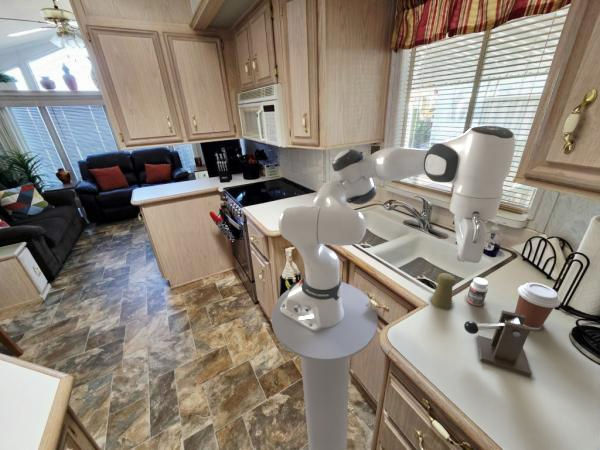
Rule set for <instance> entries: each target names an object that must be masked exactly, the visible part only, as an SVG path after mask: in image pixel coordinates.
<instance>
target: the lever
mask: <svg viewBox="0 0 600 450" xmlns="http://www.w3.org/2000/svg"><path fill="white" fill-rule="evenodd" d="M504 320H505V323H506V322H510V323H514V324H518V325H521V323H520V321H519V318H508V319H504ZM505 323H498V322H489V323H476V322H475V321H473V320H467V321H465V322H464V324H463V325H464V326H463V327H464V330H465V331H466V332H467V333H468V334H471V335H475V334H477V333H478V332H479V331H488V330H496V329H503V328H504V325H505Z"/></svg>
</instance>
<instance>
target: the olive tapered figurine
mask: <svg viewBox="0 0 600 450" xmlns="http://www.w3.org/2000/svg"><path fill="white" fill-rule="evenodd" d="M436 281H437V285H436V287H435V290H434V292H433V295H432V296H431V303H432V304H433V305H434V306H435V307H436V308H439V309H444V310H445V309H450V308H451V307H452V304H453V303H452V302H453V287H454V286H455V285H456V282H457V281H456V278H455V276H454V275H453V274H450V273H447V272H441V273H439V274H438V275H437V278H436Z"/></svg>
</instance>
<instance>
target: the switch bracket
mask: <svg viewBox="0 0 600 450" xmlns="http://www.w3.org/2000/svg"><path fill="white" fill-rule="evenodd" d="M508 318H519V321H520V323H521V325H518V324H514V323H510V322H506V323H505V320H504V319H508ZM525 319H526V318H525V316H524V315H520V314H516V313H515V312H512V311H508V310H507V311H506V310H501V313H500V317H499V319H498V322H497V323H505V325H504V328H503V329H494V333H493V336H492V338H489V337H486V336H484V335H483V336H482V335H480V334H477V336H476V340H477V347H478V354H479V360H480V362H482V363H485V364H487V365H488V364H489V365H491V366H495V367H498V368H501V369H504V370H507V371H510V372H513V373H516V374H520V375H522V376H526V377H531V376H532V375H533V374H532V370H531V368H530V365H529V361H528V359H527V356H526V352H525V349H524V346H525V344H526V341H527V339H528V336H529V334H530V332H531V329H530V328H529V327H526V326H523V323H524V321H525Z"/></svg>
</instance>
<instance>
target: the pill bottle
mask: <svg viewBox="0 0 600 450" xmlns="http://www.w3.org/2000/svg"><path fill="white" fill-rule="evenodd" d="M488 287H489V281H488V280H487V279H485V278H483V277H478V276H477V277H474V278H473V280H472V282H471V283H470V285H469V288H468V292H467V295H466V301H467V302H468V303H470V304H472V305H474V306H482V305H484V303H485V299H486V296H487V293H488V289H489V288H488Z"/></svg>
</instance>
